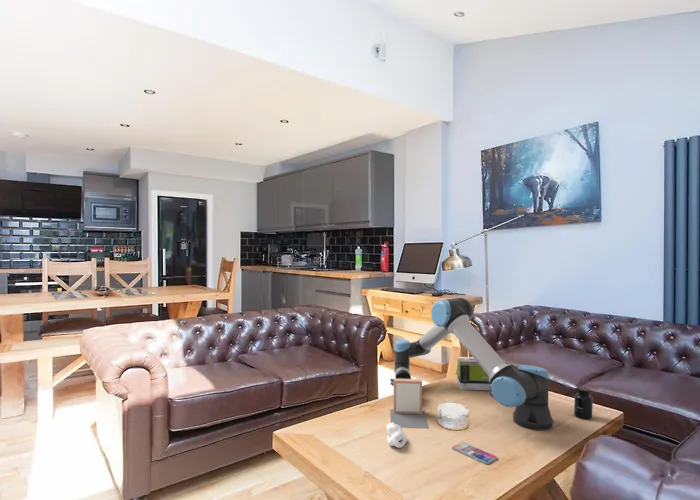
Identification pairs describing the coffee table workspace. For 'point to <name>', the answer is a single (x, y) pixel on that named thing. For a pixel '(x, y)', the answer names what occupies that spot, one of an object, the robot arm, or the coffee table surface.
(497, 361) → the robot arm
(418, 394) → the tile
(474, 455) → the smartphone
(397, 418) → the mat
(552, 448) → the coffee table surface
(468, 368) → the tea box
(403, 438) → the white lumpy piece
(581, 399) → the supplement bottle
